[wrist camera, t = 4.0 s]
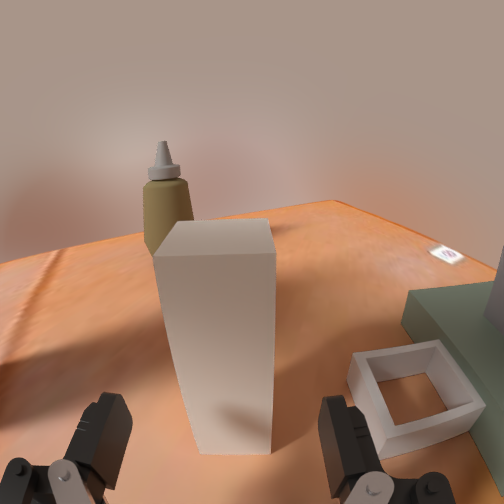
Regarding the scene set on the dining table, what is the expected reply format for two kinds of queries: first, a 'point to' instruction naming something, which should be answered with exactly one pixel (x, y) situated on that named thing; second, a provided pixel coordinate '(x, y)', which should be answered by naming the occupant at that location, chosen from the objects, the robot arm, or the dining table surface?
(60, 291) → the dining table surface
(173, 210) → the squeeze bottle
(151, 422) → the dining table surface
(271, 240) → the tall white pillar block
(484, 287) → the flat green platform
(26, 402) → the dining table surface
